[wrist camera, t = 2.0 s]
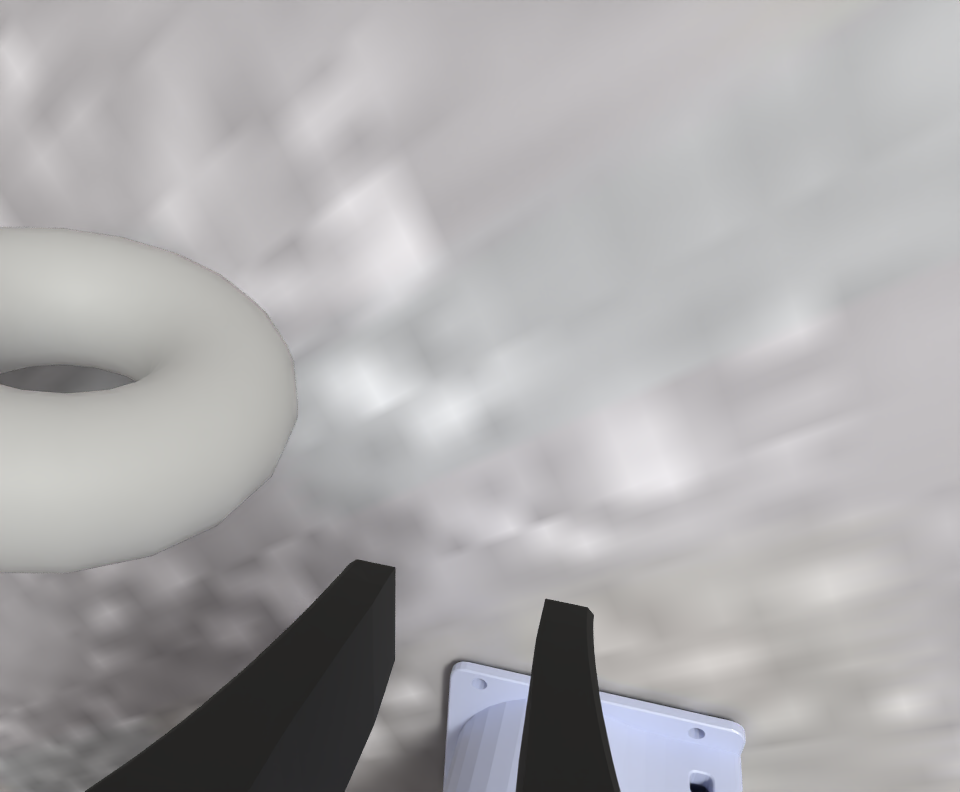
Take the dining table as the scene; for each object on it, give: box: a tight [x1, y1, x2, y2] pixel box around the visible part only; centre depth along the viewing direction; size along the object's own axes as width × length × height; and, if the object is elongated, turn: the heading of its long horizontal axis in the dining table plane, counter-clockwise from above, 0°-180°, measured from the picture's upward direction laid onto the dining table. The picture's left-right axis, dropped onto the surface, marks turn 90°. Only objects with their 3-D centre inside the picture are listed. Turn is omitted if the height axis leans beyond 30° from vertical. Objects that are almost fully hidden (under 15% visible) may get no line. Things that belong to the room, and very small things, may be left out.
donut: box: [0, 227, 298, 573], centre depth 17 cm, size 10×3×10 cm, turn 73°
